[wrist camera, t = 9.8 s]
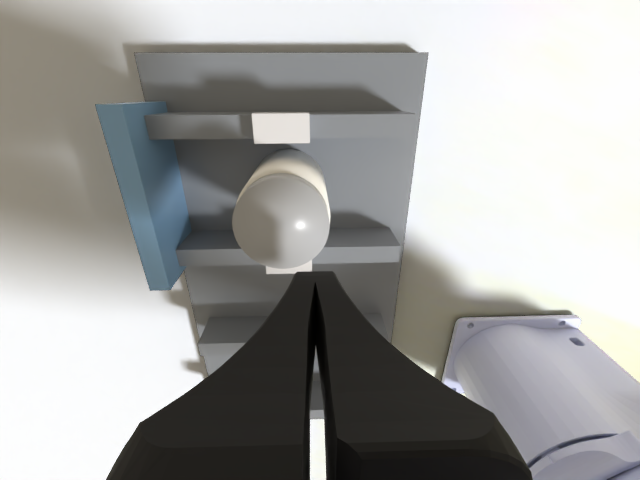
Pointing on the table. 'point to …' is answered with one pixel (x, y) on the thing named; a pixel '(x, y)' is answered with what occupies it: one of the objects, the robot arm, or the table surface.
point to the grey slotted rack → (243, 159)
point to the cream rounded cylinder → (283, 211)
